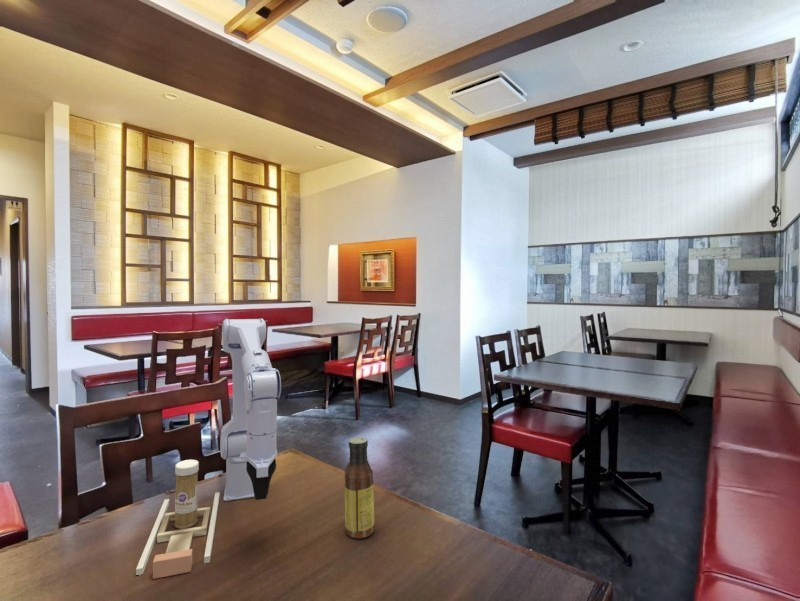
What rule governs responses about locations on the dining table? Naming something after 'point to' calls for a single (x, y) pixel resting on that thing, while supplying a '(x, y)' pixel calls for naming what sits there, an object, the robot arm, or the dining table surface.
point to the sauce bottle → (359, 491)
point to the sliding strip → (178, 546)
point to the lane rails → (156, 529)
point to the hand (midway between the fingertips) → (260, 497)
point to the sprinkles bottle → (186, 494)
